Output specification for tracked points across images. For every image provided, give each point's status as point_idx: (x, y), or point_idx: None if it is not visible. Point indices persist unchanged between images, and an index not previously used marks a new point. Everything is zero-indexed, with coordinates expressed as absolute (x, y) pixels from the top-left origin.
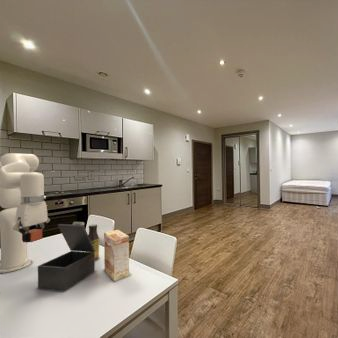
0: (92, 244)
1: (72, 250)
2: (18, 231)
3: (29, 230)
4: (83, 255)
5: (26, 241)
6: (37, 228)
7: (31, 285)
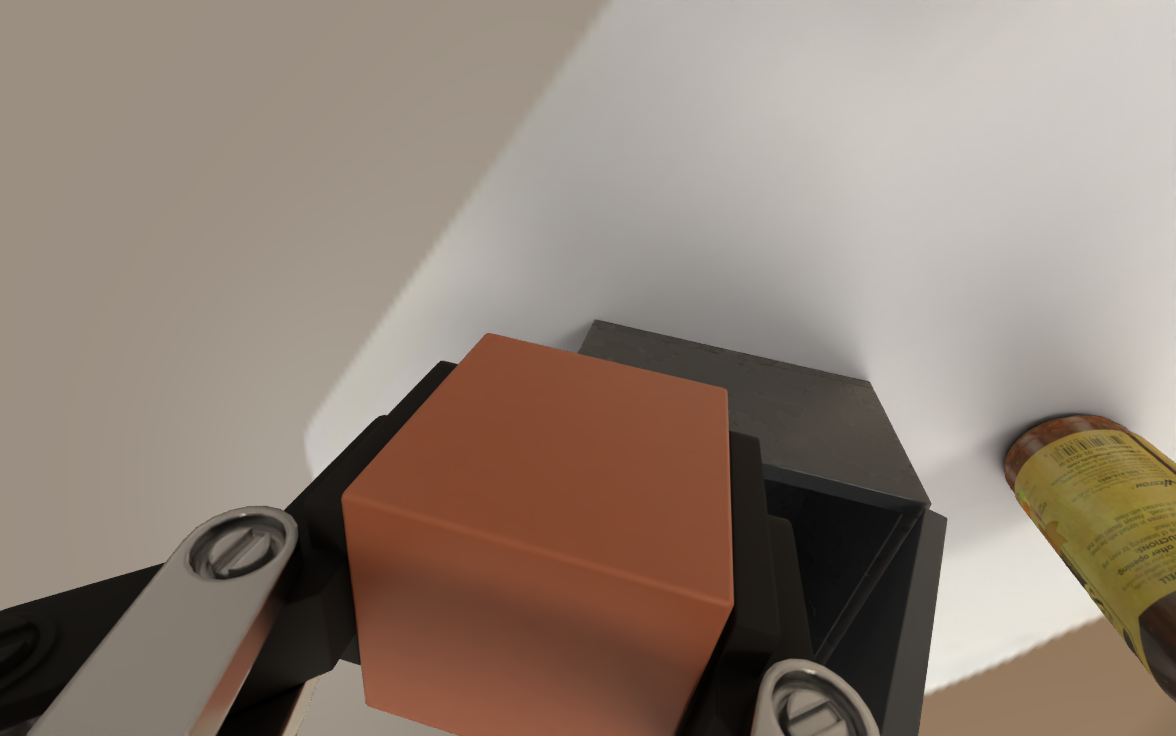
0: (1116, 629)
1: (912, 529)
2: (53, 609)
3: (515, 576)
4: (829, 596)
5: None
6: (714, 711)
7: (637, 233)
